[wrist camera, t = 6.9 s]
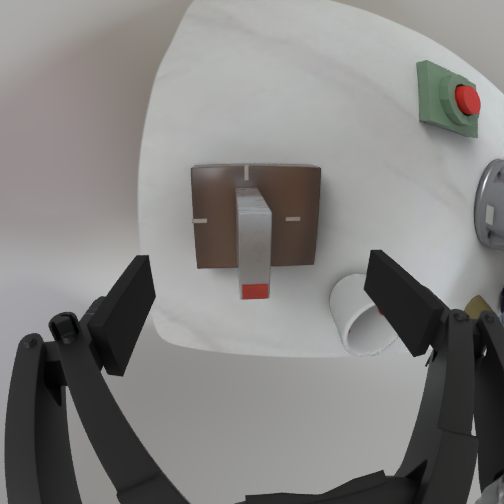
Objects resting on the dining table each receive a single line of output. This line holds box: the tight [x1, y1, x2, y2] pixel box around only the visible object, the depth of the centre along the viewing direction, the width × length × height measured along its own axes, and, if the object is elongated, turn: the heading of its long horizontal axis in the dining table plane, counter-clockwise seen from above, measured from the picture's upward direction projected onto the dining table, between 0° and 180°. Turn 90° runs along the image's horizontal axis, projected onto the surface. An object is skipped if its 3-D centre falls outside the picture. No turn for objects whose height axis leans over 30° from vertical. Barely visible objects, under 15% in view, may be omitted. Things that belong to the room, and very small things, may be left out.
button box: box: [417, 60, 479, 138], centre depth 22 cm, size 10×8×4 cm
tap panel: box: [191, 164, 321, 269], centre depth 27 cm, size 12×10×3 cm
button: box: [455, 86, 481, 114], centre depth 20 cm, size 4×4×2 cm
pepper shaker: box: [464, 296, 500, 320], centre depth 33 cm, size 6×6×11 cm
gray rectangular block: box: [235, 188, 272, 300], centre depth 21 cm, size 6×2×9 cm, turn 0°
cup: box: [329, 274, 398, 356], centre depth 30 cm, size 11×8×8 cm
